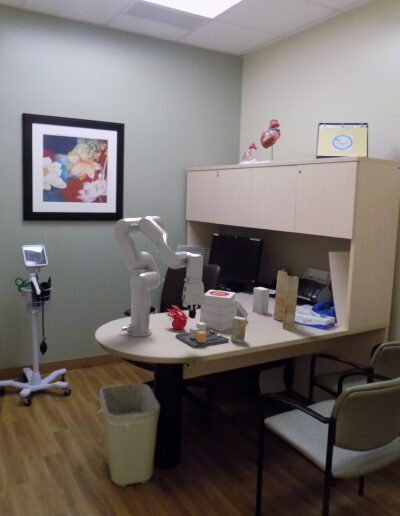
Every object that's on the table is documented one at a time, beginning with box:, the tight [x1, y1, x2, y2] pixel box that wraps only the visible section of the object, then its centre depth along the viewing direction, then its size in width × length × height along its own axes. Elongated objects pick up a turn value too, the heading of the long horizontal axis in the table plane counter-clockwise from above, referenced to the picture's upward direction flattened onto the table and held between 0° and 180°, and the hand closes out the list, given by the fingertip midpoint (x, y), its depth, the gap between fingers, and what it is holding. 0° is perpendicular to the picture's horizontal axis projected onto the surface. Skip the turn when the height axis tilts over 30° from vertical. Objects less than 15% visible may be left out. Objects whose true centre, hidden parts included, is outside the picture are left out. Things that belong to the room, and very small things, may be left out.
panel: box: [175, 329, 230, 349], centre depth 240 cm, size 21×17×2 cm
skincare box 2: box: [252, 286, 270, 315], centre depth 298 cm, size 8×7×16 cm
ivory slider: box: [195, 321, 207, 332], centre depth 247 cm, size 4×4×4 cm
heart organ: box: [165, 304, 189, 331], centre depth 255 cm, size 10×12×12 cm
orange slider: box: [196, 331, 206, 343], centre depth 232 cm, size 4×4×4 cm
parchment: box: [273, 269, 299, 331], centre depth 275 cm, size 23×6×30 cm, turn 8°
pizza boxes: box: [199, 289, 249, 332], centre depth 270 cm, size 19×30×18 cm, turn 144°
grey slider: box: [188, 326, 200, 339], centre depth 237 cm, size 4×4×4 cm
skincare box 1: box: [230, 316, 248, 344], centre depth 241 cm, size 6×4×12 cm
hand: (192, 317), depth 227 cm, fingers closed
